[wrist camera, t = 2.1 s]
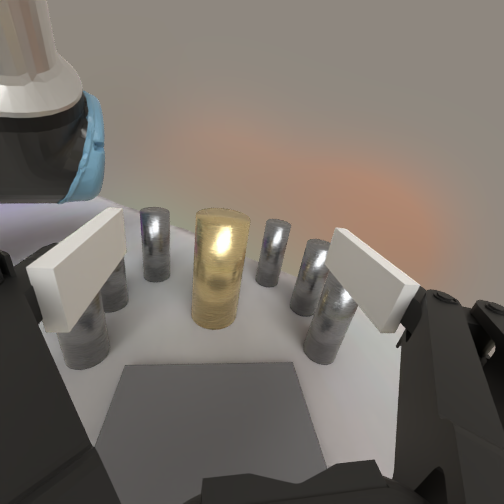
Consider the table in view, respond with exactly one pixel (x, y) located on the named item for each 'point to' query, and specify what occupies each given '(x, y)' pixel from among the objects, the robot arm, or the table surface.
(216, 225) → the brass canister
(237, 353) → the table surface
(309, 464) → the mat
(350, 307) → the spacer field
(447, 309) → the robot arm
